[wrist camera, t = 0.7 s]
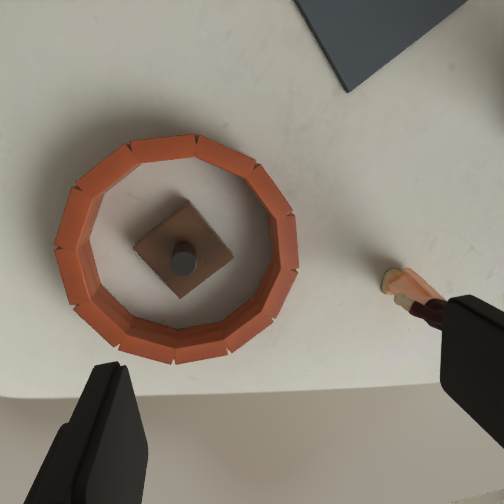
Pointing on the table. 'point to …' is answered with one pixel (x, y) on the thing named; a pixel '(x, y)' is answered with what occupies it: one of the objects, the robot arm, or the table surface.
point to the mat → (370, 31)
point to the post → (183, 250)
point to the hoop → (145, 332)
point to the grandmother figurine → (415, 295)
